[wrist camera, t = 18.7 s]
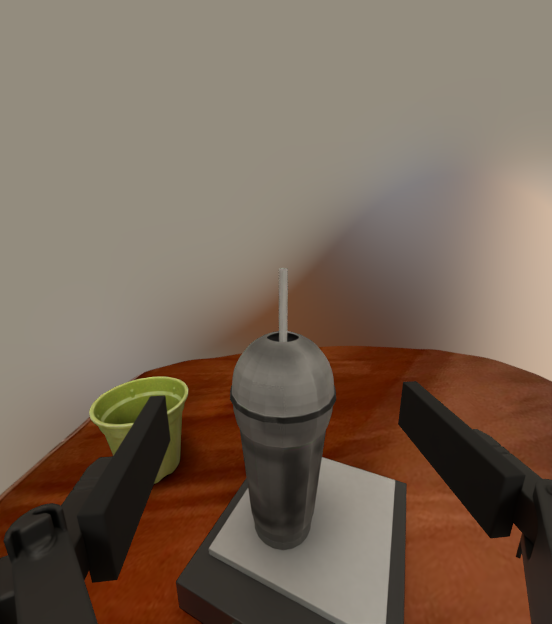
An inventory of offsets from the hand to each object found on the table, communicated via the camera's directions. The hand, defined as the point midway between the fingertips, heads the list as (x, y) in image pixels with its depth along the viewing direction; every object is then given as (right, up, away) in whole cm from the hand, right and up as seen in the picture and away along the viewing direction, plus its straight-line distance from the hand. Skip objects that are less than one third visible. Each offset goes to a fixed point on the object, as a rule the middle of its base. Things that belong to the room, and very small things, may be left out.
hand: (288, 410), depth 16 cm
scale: (+2, -14, +8) cm, 16 cm away
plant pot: (-15, -12, +17) cm, 25 cm away
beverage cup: (0, -11, +7) cm, 13 cm away
